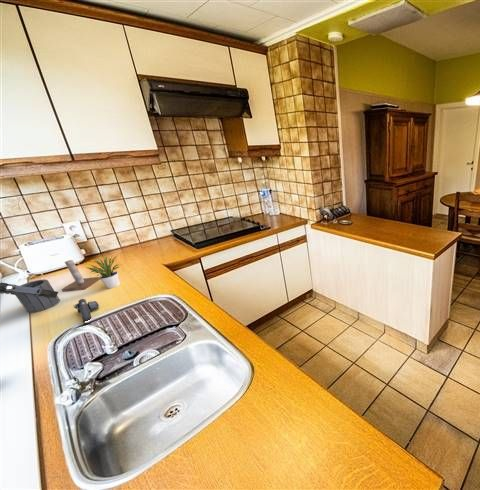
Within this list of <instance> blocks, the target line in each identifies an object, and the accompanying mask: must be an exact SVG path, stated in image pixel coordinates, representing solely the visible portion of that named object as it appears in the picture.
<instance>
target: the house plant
mask: <svg viewBox="0 0 480 490" xmlns="http://www.w3.org/2000/svg"><path fill="white" fill-rule="evenodd" d="M121 255H122V253H120V254H117V255H115V256H114V257H113V258H112V256H110V257H109V258H108V254H106V255H105V256H104V258H103V261H102V259H101V258H98V260H96V259H95V260H94V259H91V261H92V262H93V263H96V264H97V265H98V266H100V267H98V266H96V265H93V264H85V263H84V266H86V267H85V268H86V269H88V270H89V271H90V272H89V274H91V273H92V274H97V275H96V276H95V277H99V279H100V280H99V281H101V282H102V284H103V285H104V286H105V287H106V288H107V289H114V288H117V287H119V286H120V285H121V280H120V275H119V272H118V271H115V270H117V269H119V268H120V264H119V263H118V264H115V265H114V266H113V263H114V262H115V260H116V258H117V257H119V256H121ZM112 266H113V267H112Z"/></svg>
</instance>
